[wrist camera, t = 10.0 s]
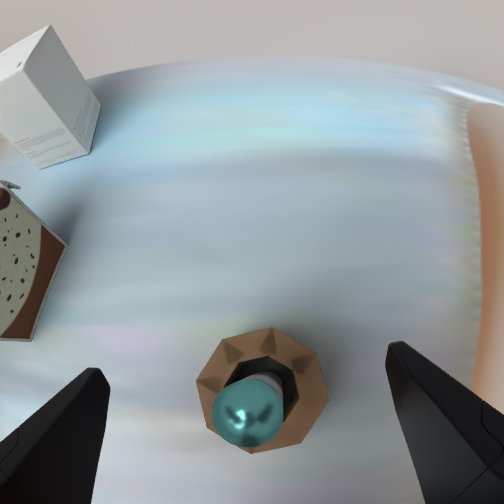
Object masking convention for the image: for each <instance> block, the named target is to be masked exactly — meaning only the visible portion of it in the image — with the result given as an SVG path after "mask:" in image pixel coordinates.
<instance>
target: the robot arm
mask: <svg viewBox="0 0 504 504" xmlns="http://www.w3.org/2000/svg"><path fill="white" fill-rule="evenodd" d="M385 367H386V372H387V376H388V380H389V384H390V389H391V393H392V397H393V401H394V406H395V410H396V413H397V416H398V419H399V422H400V425H401V428H402V431H403V434H404V436H405V439H406V442H407V445H408V448H409V451H410V454H411V458H412V461H413V464H414V467H415V470H416V473H417V477H418V480H419V483H420V486H421V490H422V493H423V497H424V500H425V504H504V415H503V414H502V413H500V412H499V411H498V410H496V409H495V408H493V407H492V406H491V405H489V404H488V403H486V402H485V401H482V399H481V398H480V397H478V396H477V395H476V394H474V393H473V392H472V391H470V390H469V389H468V388H466V387H465V386H464V385H462V384H461V383H460V382H458V381H457V380H455V379H454V378H453V377H451V376H450V375H449V374H447V373H446V372H445V371H443V370H442V369H441V368H439V367H438V366H436V365H435V364H434V363H432V362H431V361H430V360H428V359H427V358H426V357H424V356H423V355H421V354H420V353H419V352H417V351H416V350H415V349H413V348H412V347H410V346H409V345H408V344H406V343H405V342H403V341H397V342H392V343H390V344H389V346H388V351H387V356H386V361H385ZM109 397H110V385H109V383H108V381H107V380H106V378H105V376H104V375H103V373H102V371H101V370H100V369H99V368H87V369H86V370H84V371H83V372H82V373H81V374H80V375H78V376H77V377H76V378H75V379H74V380H73V381H71V382H70V383H69V384H68V385H67V386H65V387H64V388H63V389H62V390H61V391H60V392H58V393H57V394H56V395H55V396H54V397H53V398H51V399H50V400H49V401H48V402H47V403H46V404H44V405H43V406H42V407H41V408H40V409H39V410H37V411H36V412H35V413H34V414H33V415H32V416H30V417H29V418H28V419H27V420H26V421H25V422H23V423H22V424H21V425H20V426H19V428H16V429H15V430H14V431H13V432H12V433H11V434H10V435H8V436H7V437H6V438H5V439H4V440H2V441H1V442H0V504H91V500H92V494H93V489H94V483H95V477H96V472H97V467H98V462H99V457H100V452H101V447H102V443H103V438H104V433H105V428H106V420H107V412H108V404H109Z"/></svg>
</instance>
